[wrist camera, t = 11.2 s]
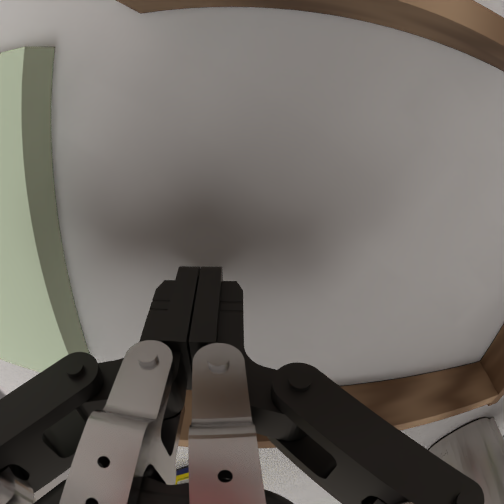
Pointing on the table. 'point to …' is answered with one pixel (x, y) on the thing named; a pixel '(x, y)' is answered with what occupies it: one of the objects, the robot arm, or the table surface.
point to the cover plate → (31, 221)
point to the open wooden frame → (472, 43)
